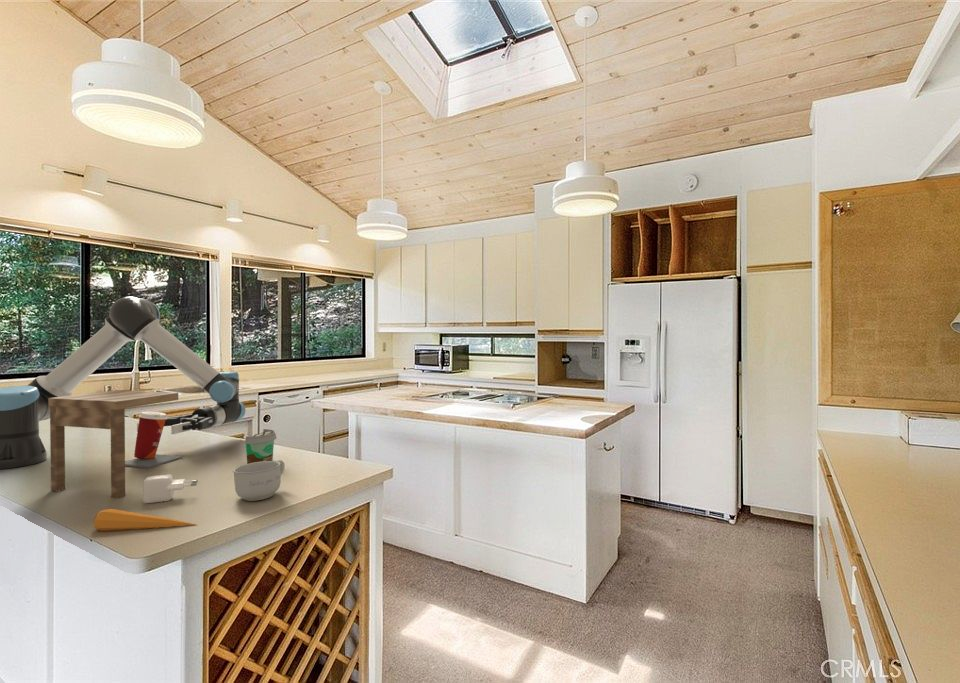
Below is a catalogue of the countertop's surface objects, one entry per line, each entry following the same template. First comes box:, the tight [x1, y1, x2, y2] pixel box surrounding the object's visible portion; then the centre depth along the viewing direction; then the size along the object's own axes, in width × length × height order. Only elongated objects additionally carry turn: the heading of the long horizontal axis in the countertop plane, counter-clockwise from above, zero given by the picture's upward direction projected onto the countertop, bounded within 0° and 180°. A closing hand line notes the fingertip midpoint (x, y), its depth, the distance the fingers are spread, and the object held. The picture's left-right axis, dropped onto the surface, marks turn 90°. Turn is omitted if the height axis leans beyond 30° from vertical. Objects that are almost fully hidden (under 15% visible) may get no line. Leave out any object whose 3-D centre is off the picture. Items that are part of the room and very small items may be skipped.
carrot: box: [93, 508, 198, 532], centre depth 101 cm, size 20×4×4 cm, turn 97°
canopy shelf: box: [48, 389, 179, 499], centre depth 130 cm, size 22×18×24 cm
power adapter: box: [142, 474, 199, 504], centre depth 118 cm, size 11×5×6 cm, turn 115°
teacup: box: [232, 459, 286, 502], centre depth 122 cm, size 14×11×8 cm
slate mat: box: [125, 453, 183, 469], centre depth 152 cm, size 12×12×1 cm
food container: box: [244, 428, 277, 464], centre depth 149 cm, size 12×6×10 cm, turn 179°
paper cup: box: [133, 411, 168, 459], centre depth 154 cm, size 8×8×14 cm
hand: (154, 428), depth 153 cm, fingers open, 13 cm apart
